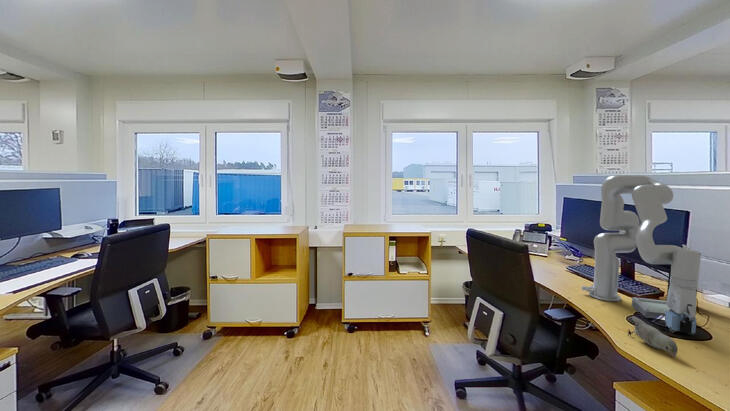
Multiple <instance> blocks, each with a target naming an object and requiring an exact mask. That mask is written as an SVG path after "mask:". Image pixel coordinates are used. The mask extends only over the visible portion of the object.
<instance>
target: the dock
mask: <svg viewBox="0 0 730 411" xmlns="http://www.w3.org/2000/svg"><path fill="white" fill-rule="evenodd" d="M631 299H632V300H631V307H632V308H633V309H634V310H635V311H637V312H638V313H639V312H640V313H641V314H643V315H644V316H658V315H666V311H669V310H670V308H669V307H668V306H667V300H659V299H652V298H645V297H635V296H633V297H632V298H631ZM640 313H639V314H640ZM684 313H685V312H684ZM641 314H640V315H641ZM696 315H697V314H696V313H695V316H696Z"/></svg>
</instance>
